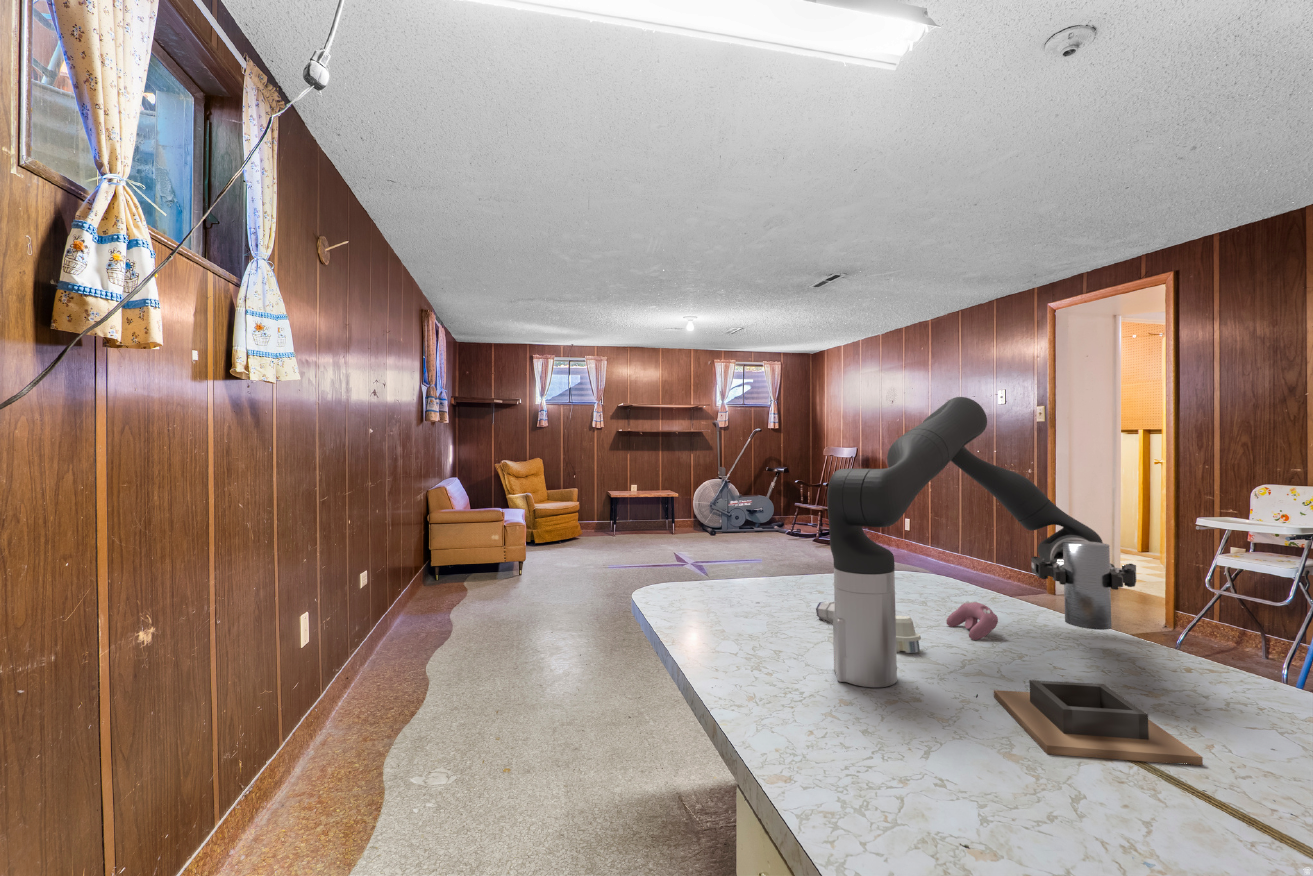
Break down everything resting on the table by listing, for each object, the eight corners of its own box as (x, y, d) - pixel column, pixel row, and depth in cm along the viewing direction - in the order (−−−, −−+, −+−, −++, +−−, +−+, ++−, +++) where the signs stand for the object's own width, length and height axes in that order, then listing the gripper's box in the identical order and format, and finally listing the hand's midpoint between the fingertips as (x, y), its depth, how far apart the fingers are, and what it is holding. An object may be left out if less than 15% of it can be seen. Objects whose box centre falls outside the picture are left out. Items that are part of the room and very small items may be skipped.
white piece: (831, 599, 126) (923, 611, 103) (835, 630, 125) (929, 650, 102) (812, 601, 124) (901, 615, 101) (815, 633, 123) (907, 654, 100)
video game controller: (991, 649, 109) (1006, 615, 109) (969, 638, 109) (985, 605, 109) (962, 632, 118) (977, 601, 119) (942, 623, 118) (957, 592, 119)
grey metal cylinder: (1076, 628, 84) (1074, 546, 84) (1057, 617, 90) (1055, 540, 90) (1120, 630, 83) (1117, 547, 83) (1098, 619, 89) (1096, 541, 89)
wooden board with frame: (1046, 753, 68) (1045, 719, 68) (993, 697, 84) (993, 669, 84) (1202, 765, 65) (1201, 730, 65) (1117, 704, 81) (1116, 675, 81)
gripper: (1027, 536, 103) (1029, 550, 88) (1130, 542, 95) (1151, 558, 81) (1028, 578, 102) (1030, 599, 88) (1131, 588, 95) (1153, 612, 80)
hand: (1088, 580), depth 84 cm, fingers closed on grey metal cylinder, 5 cm apart
